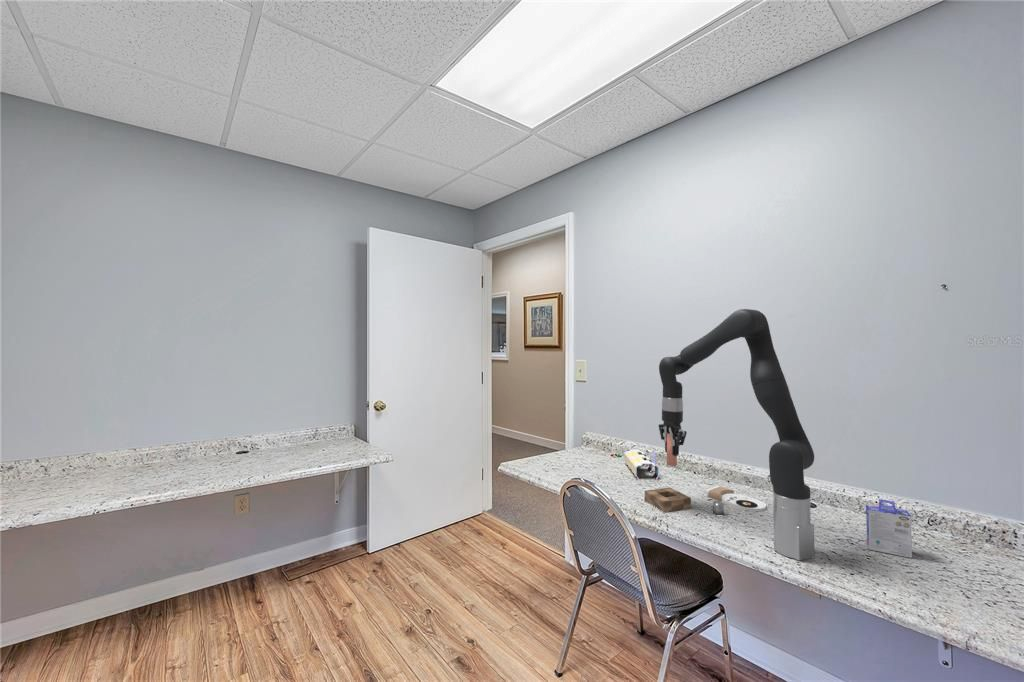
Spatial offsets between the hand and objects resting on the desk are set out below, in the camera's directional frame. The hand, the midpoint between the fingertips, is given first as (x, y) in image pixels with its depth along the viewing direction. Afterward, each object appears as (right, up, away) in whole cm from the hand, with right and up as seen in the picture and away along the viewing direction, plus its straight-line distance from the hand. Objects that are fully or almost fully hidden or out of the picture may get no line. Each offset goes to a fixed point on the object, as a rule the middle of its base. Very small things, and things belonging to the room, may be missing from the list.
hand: (671, 453), depth 159 cm
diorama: (+1, -21, +43) cm, 48 cm away
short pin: (+14, -20, -7) cm, 26 cm away
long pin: (0, -4, 0) cm, 4 cm away
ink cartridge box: (+52, -20, -34) cm, 65 cm away
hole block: (-1, -20, +2) cm, 20 cm away
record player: (+27, -21, +4) cm, 34 cm away
